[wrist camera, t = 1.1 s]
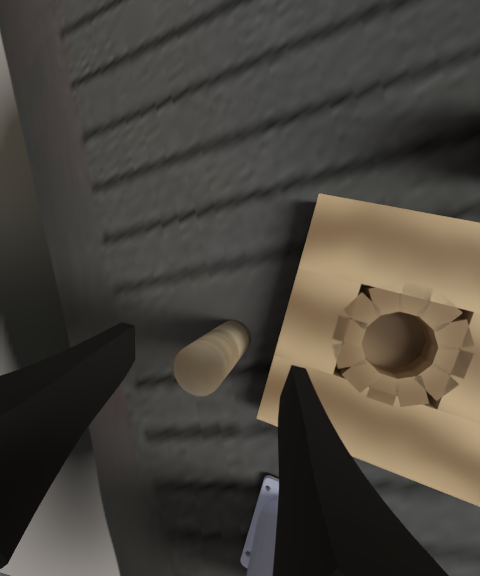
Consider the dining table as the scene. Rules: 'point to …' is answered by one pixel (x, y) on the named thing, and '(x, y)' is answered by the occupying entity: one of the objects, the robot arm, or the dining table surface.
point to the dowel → (211, 358)
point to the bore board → (390, 339)
